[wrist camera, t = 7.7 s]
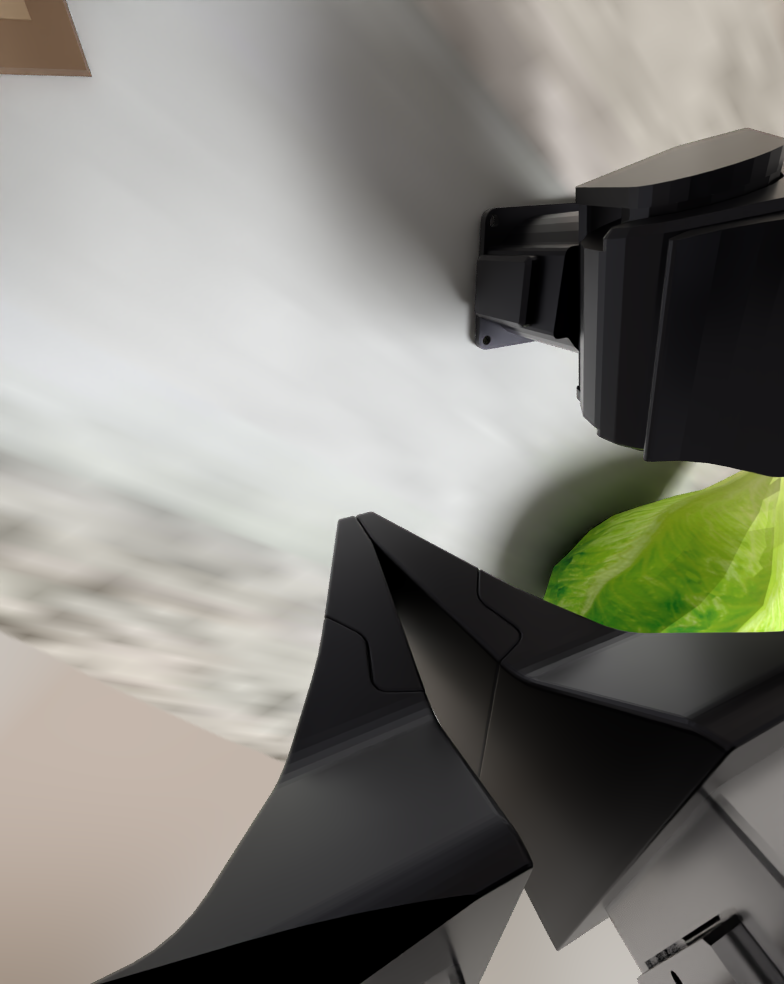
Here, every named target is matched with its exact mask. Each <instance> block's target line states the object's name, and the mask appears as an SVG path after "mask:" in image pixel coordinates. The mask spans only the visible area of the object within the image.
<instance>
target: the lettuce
mask: <svg viewBox="0 0 784 984" xmlns="http://www.w3.org/2000/svg"><path fill="white" fill-rule="evenodd" d="M543 600H545V601H548V602H550V603H552V604H555V605H557V606H559V607H562V608H564V609H566V610H569V611H571V612H574V613H576V614H578V615H581V616H583V617H585V618H588V619H590V620H592V621H595V622H597V623H600V624H602V625H605V626H608V627H611V628H614V629H618V630H622V631H627V632H635V633H712V632H773V631H783V629H784V477H769V476H765V475H760V474H756V473H752V472H748V471H743V470H742V471H740V472H738V473H736V474H734V475H732V476H730V477H728V478H726V479H724V480H722V481H720V482H718V483H716V484H714V485H712V486H709V487H707V488H705V489H703V490H699V491H695V492H690V493H685V494H681V495H676V496H673V497H670V498H666V499H663V500H659V501H656V502H653V503H649V504H646V505H642V506H639V507H636V508H633V509H631V510H628V511H625V512H622V513H619V514H616V515H613V516H611V517H610V518H608V519H607V520H605V521H604V522H602V523H601V524H599V525H598V526H596V527H594V528H593V529H591V530H590V531H589V532H588V533H587V534H586V535H585V536H584V537H583V538H582V539H581V540H580V542H579V543H578V544H577V545H576V546H575V547H574V548H573V549H572V550H571V551H570V552H569V553H568V554H567V555H566V556H565V557H564V558H563V559H562V560H561V561H559V562H558V563H557V564H556V565H555V566H554V567H553V570H552V573H551V577H550V580H549V583H548V586H547V589H546V592H545V595H544V598H543Z"/></svg>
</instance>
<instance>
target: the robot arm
mask: <svg viewBox="0 0 784 984" xmlns="http://www.w3.org/2000/svg"><path fill="white" fill-rule="evenodd" d="M492 216H493V217H494V224H493V226H492V227H491V225H490V218H491V217H492ZM475 313H476V314H477V315H476V336H475V342H476V345H477V346H478V347H479V348H481V349H492V348H498V347H504V346H510V345H515V344H521V343H527V342H533V341H539V342H542V343H545V344H549V345H552V346H556V347H559V348H563V349H566V350H570V351H573V352H577V353H579V386H577V399H578V400H579V401H580V406H581V409H582V413H583V416H584V417H585V418H586V419H587V420H588V421H589V422H590V423H591V424H592V425H593V426H594V427H596V428H597V435H598V436H599V437H601V438H603V439H605V440H608V441H610V442H612V443H615V444H617V445H621V446H625V447H629V448H633V449H636V450H640V451H644V454H643V459H644V460H645V461H648V462H655V461H690V462H702V463H710V464H716V465H721V466H726V467H731V468H735V469H739V470H743V471H748V472H752V473H756V474H760V475H765V476H769V477H784V138H782V137H779V136H775V135H772V134H768V133H764V132H761V131H757V130H754V129H750V128H744V129H740V130H736V131H732V132H728V133H724V134H721V135H717V136H713V137H710V138H706V139H702V140H698V141H695V142H691V143H687V144H683V145H680V146H677V147H674V148H671V149H669V150H666V151H664V152H661V153H659V154H656V155H654V156H651V157H649V158H646V159H644V160H641V161H639V162H636V163H634V164H631V165H629V166H626V167H624V168H621V169H619V170H616V171H614V172H611V173H609V174H606V175H604V176H601V177H599V178H596V179H594V180H591V181H589V182H586V183H584V184H581V185H579V186H576V203H567V204H552V205H537V206H521V207H506V208H493V209H489V210H487V211H486V212H484V214H483V216H482V219H481V230H480V251H479V259H478V261H477V275H476V297H475ZM485 336H487V340H486V342H485V343H483V338H484V337H485ZM432 709H433V710H432ZM433 711H434V712H433ZM434 713H435V714H434ZM435 715H436V716H435ZM436 717H437V718H436ZM437 719H438V720H437ZM438 721H439V722H440V724H441V725H440V724H439V722H438ZM441 726H442V727H441ZM523 889H525V890H526V893H527V894H528V896H529V898H530V900H531V902H532V904H533V906H534V908H535V910H536V912H537V914H538V916H539V918H540V920H541V922H542V924H543V926H544V928H545V929H546V931H547V933H548V935H549V937H550V939H551V941H552V943H553V945H554V947H555V948H556V950H557V951H559V950H560V949H561V948H563V947H565V946H566V945H568V944H569V943H571V942H572V941H574V940H575V939H577V938H578V937H580V936H581V935H583V934H584V933H586V932H587V931H589V930H590V929H592V928H593V927H595V926H596V925H598V924H599V923H601V922H602V921H604V920H605V919H607V918H608V917H610V919H611V921H612V922H613V924H614V926H615V928H616V929H617V931H618V933H619V935H620V936H621V938H622V940H623V941H624V943H625V945H626V946H627V948H628V950H629V952H630V953H631V955H632V957H633V958H634V960H635V962H636V964H637V965H638V967H639V969H640V970H641V972H642V975H640V976H639V977H638V978H637V980H638V983H639V984H784V631H773V632H712V633H635V632H627V631H622V630H618V629H614V628H611V627H608V626H605V625H602V624H600V623H597V622H595V621H592V620H590V619H588V618H585V617H583V616H581V615H578V614H576V613H574V612H571V611H569V610H566V609H564V608H562V607H559V606H557V605H555V604H552V603H550V602H548V601H545V600H543V599H541V598H538V597H536V596H534V595H532V594H529V593H527V592H525V591H523V590H520V589H518V588H516V587H514V586H512V585H510V584H508V583H506V582H504V581H502V580H500V579H498V578H496V577H494V576H492V575H490V574H488V573H487V572H485V571H483V570H479V569H478V568H477V567H475V566H473V565H471V564H469V563H468V562H466V561H464V560H462V559H460V558H458V557H456V556H455V555H453V554H451V553H449V552H447V551H445V550H443V549H441V548H440V547H438V546H436V545H434V544H432V543H430V542H428V541H426V540H425V539H423V538H421V537H419V536H417V535H415V534H413V533H411V532H410V531H408V530H406V529H404V528H402V527H400V526H398V525H396V524H395V523H393V522H391V521H389V520H387V519H385V518H383V517H381V516H380V515H378V514H376V513H374V512H367V513H363V514H359V515H357V516H356V517H354V516H351V517H347V518H343V519H340V520H339V521H338V524H337V532H336V539H335V546H334V553H333V560H332V567H331V574H330V582H329V589H328V596H327V603H326V610H325V620H324V623H323V630H322V636H321V642H320V647H319V653H318V657H317V661H316V665H315V669H314V673H313V676H312V680H311V683H310V687H309V690H308V693H307V697H306V700H305V703H304V706H303V710H302V713H301V716H300V720H299V723H298V726H297V729H296V733H295V736H294V739H293V743H292V746H291V749H290V752H289V755H288V758H287V760H286V763H285V766H284V769H283V771H282V773H281V775H280V778H279V780H278V782H277V784H276V786H275V788H274V790H273V791H272V793H271V795H270V796H269V798H268V799H267V801H266V802H265V804H264V806H263V807H262V809H261V810H260V812H259V813H258V815H257V817H256V818H255V820H254V821H253V823H252V824H251V826H250V828H249V829H248V831H247V832H246V834H245V835H244V837H243V839H242V840H241V842H240V843H239V845H238V846H237V848H236V849H235V851H234V853H233V854H232V856H231V857H230V859H229V860H228V862H227V864H226V865H225V867H224V868H223V870H222V871H221V873H220V875H219V876H218V878H217V879H216V881H215V883H214V884H213V886H212V887H211V889H210V890H209V892H208V893H207V895H206V896H205V898H204V899H203V901H202V902H201V903H200V905H199V906H198V907H197V909H196V910H195V911H194V913H193V914H192V915H191V916H190V917H189V918H188V919H187V920H186V921H185V923H184V924H183V925H182V926H181V927H180V928H179V929H178V930H177V931H176V932H175V933H174V934H173V935H171V936H170V937H169V938H168V939H167V940H166V941H164V942H163V943H162V944H161V945H159V946H158V947H157V948H156V949H155V950H153V951H152V952H150V953H148V954H147V955H145V956H143V957H142V958H140V959H138V960H137V961H135V962H134V963H132V964H130V965H128V966H126V967H124V968H122V969H120V970H118V971H116V972H114V973H112V974H110V975H108V976H106V977H104V978H102V979H100V980H97V981H95V982H93V983H92V984H479V982H480V980H481V978H482V976H483V974H484V971H485V970H486V967H487V965H488V963H489V961H490V959H491V957H492V955H493V953H494V950H495V948H496V946H497V944H498V942H499V940H500V937H501V936H502V933H503V931H504V929H505V927H506V925H507V923H508V921H509V918H510V916H511V914H512V912H513V910H514V908H515V906H516V904H517V901H518V899H519V897H520V895H521V893H522V891H523Z"/></svg>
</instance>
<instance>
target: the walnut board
mask: <svg viewBox="0 0 784 984" xmlns="http://www.w3.org/2000/svg"><path fill="white" fill-rule="evenodd" d="M0 74H14V75H51V76H88V77H92V76H91V73H90V70H89V67H88V64H87V61H86V58H85V55H84V52H83V49H82V47H81V44H80V41H79V38H78V35H77V32H76V29H75V26H74V23H73V20H72V17H71V14H70V12H69V9H68V6H67V3H66V0H0Z"/></svg>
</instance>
